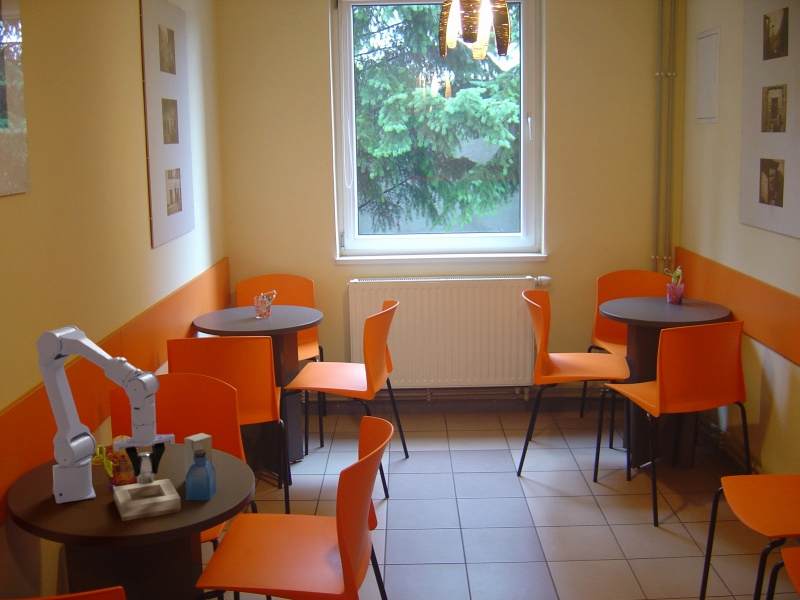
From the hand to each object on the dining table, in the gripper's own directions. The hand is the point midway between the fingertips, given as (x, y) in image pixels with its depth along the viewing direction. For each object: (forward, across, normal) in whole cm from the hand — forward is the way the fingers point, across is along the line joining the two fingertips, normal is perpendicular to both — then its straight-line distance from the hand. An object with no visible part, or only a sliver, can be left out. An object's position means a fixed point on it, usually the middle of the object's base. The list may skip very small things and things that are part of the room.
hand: (145, 473), depth 214 cm
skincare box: (+9, +16, +12) cm, 22 cm away
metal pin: (+2, 0, 0) cm, 2 cm away
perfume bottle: (+9, +14, +1) cm, 17 cm away
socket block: (+8, 0, 0) cm, 8 cm away
